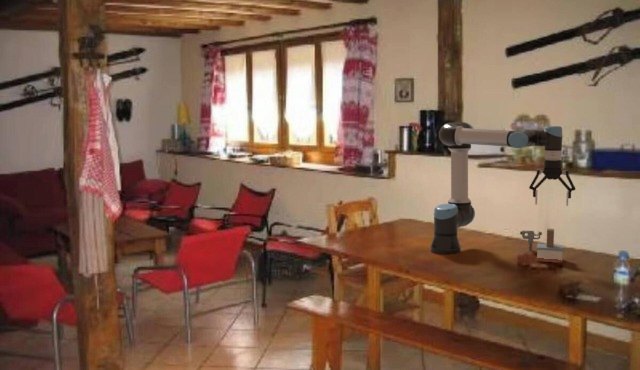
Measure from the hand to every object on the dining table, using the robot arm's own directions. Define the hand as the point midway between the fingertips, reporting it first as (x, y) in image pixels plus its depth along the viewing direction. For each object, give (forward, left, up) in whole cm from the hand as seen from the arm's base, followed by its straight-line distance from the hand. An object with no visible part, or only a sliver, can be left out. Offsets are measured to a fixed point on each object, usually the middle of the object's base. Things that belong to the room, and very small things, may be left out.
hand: (551, 204), depth 300 cm
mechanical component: (-10, +18, -27) cm, 34 cm away
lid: (0, 0, -21) cm, 21 cm away
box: (0, 0, -27) cm, 27 cm away
